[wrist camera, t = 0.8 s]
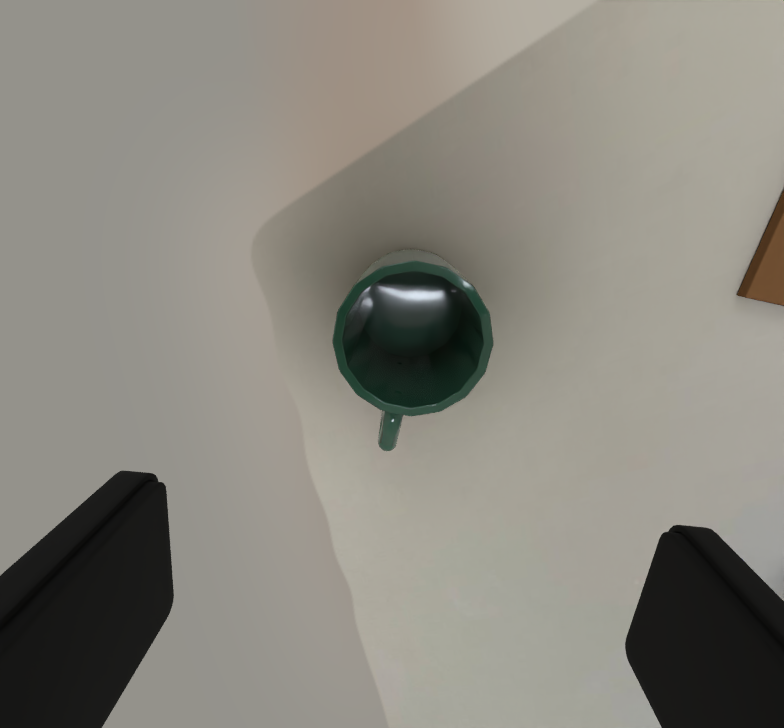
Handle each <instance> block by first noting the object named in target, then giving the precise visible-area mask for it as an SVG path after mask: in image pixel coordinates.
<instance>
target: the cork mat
mask: <svg viewBox="0 0 784 728" xmlns="http://www.w3.org/2000/svg"><path fill="white" fill-rule="evenodd" d="M737 295H738V296H742V297H746V298H751V299H755V300H760V301H765V302H769V303H774V304H778V305H783V306H784V191H783V193H782V195H781V198H780V200H779V202H778V204H777V207H776V209H775V211H774V213H773V215H772V218H771V220H770V222H769V224H768V227H767V229H766V231H765V233H764V236H763V238H762V240H761V242H760V245H759V247H758V249H757V251H756V254H755V256H754V258H753V260H752V263H751V265H750V267H749V269H748V272H747V274H746V276H745V278H744V280H743V283H742V285H741V287H740V289H739V292H738V294H737Z"/></svg>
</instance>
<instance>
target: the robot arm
mask: <svg viewBox="0 0 784 728" xmlns="http://www.w3.org/2000/svg"><path fill="white" fill-rule="evenodd" d="M173 596H174V594H173V580H172V565H171V551H170V537H169V522H168V509H167V494H166V486H165V485H164V483H162V482H158V479H157V477H156V475H154V474H152V473H143V472H142V473H141V472H132V471H120V472H118V473H117V474H115V475H114V476H113V477H112V478H111V479H109V480H108V481H107V482H106V483H105V484H104V485H103V486H102V487H101V488H99V489H98V490H97V491H96V492H95V493H94V494H92V495H91V496H90V497H89V498H88V499H87V500H86V501H85V502H83V503H82V504H81V505H80V506H79V507H78V508H77V509H76V510H74V511H73V512H72V513H71V514H70V515H69V516H67V518H65V519H64V520H63V521H62V522H61V523H60V524H58V525H57V526H56V527H55V528H54V529H53V530H52V531H50V532H49V533H48V534H47V535H46V536H45V537H44V538H43V539H41V540H40V541H39V542H38V543H37V544H36V545H35V546H33V547H32V548H31V549H30V550H29V551H28V552H27V553H25V554H24V555H23V556H22V557H21V558H20V559H19V560H18V561H16V563H14V564H13V565H12V566H11V567H10V568H8V569H7V570H6V571H5V572H4V573H3V574H2V575H1V576H0V728H102V726H103V725H104V723H105V721H106V720H107V718H108V716H109V715H110V713H111V711H112V710H113V708H114V706H115V705H116V703H117V701H118V699H119V698H120V696H121V694H122V692H123V691H124V689H125V688H126V686H127V684H128V683H129V681H130V679H131V677H132V676H133V674H134V673H135V671H136V669H137V668H138V666H139V664H140V662H141V661H142V659H143V658H144V656H145V654H146V653H147V651H148V649H149V648H150V646H151V644H152V643H153V641H154V639H155V637H156V636H157V634H158V632H159V631H160V629H161V627H162V626H163V624H164V622H165V621H166V619H167V617H168V615H169V613H170V610H171V607H172V603H173ZM625 648H626V654H627V658H628V661H629V663H630V665H631V667H632V669H633V671H634V673H635V675H636V677H637V679H638V681H639V683H640V685H641V687H642V689H643V691H644V693H645V695H646V697H647V699H648V701H649V703H650V705H651V707H652V709H653V711H654V713H655V715H656V717H657V719H658V721H659V723H660V725H661V727H662V728H784V601H783V600H782V599H781V598H780V597H779V596H778V595H777V594H776V593H775V592H774V591H773V590H772V589H771V588H770V587H769V586H768V585H767V584H766V583H765V582H764V581H763V580H762V579H761V578H760V577H759V576H758V575H757V574H756V573H755V572H754V571H753V570H752V569H751V568H750V567H749V566H748V565H747V564H746V563H745V562H744V561H743V560H742V559H741V558H740V557H739V556H738V555H737V554H736V553H735V552H734V551H733V550H732V549H731V548H730V547H729V546H728V545H727V544H726V543H725V542H724V541H723V540H722V539H721V538H720V537H719V535H718V534H717V533H715V532H714V531H713V530H711V529H709V528H704V527H693V526H683V525H675V526H673V527H672V528H670V530H669V532H665V533H663V534H662V535H661V537H660V539H659V542H658V545H657V548H656V551H655V554H654V557H653V560H652V563H651V566H650V569H649V572H648V575H647V578H646V581H645V584H644V587H643V590H642V593H641V596H640V599H639V602H638V605H637V608H636V611H635V614H634V617H633V620H632V623H631V626H630V629H629V632H628V635H627V638H626V642H625Z"/></svg>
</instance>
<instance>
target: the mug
mask: <svg viewBox="0 0 784 728" xmlns="http://www.w3.org/2000/svg"><path fill="white" fill-rule="evenodd" d="M333 347H334V351H335V355H336V359H337V363H338V368H339V370H340V372H341V374H342V375H343V376H344V378H345V379H346V381H347V382H348V383H349V385H350V386H351V387H352V389H353V390H354V392H355V393H356V394H357V395H358V396H360V397H361V398H363V399H364V400H366V401H368V402H369V403H371V404H372V405H374V406H375V407H377V408H379V409H380V410H382V414H381V422H380V430H379V439H378V444H379V447H380V448H381V449H382V450H384V451H391V450H393V449H394V448H395V446H396V444H397V439H398V435H399V431H400V427H401V422H402V418H403V415H407V416H417V415H423V414H429V413H435V412H440V411H442V410H444V409H446V408H447V407H449V406H451V405H453V404H454V403H456V402H458V401H460V400H461V399H463V398H465V397H466V396H467V395H468V394H469V393H470V391H471V390H472V389H473V388H474V386H475V385H476V384H477V383H478V381H479V380H480V379H481V378H482V376H483V375H484V374H485V372H486V368H487V365H488V361H489V358H490V354H491V351H492V347H493V335H492V327H491V319H490V314H489V311H488V309H487V308H486V306H485V304H484V303H483V301H482V299H481V298H480V296H479V294H478V293H477V291H476V289H475V288H474V286H473V285H472V284H471V283H470V282H469V281H468V280H467V279H466V278H465V277H464V276H462V275H461V274H460V273H459V272H458V271H457V270H456V269H455V268H454V267H453V266H452V265H450V264H449V263H448V262H446V261H445V260H444V259H442V258H441V257H439V256H438V255H436V254H434V253H430V252H427V251H423V250H417V249H406V250H399V251H395V252H391V253H388V254H386V255H385V256H383V257H382V258H380V259H378V260H377V261H376V262H375V263H373V264H372V265H370V266H369V267H368V268H367V270H366V271H365V272H364V273H363V275H362V276H361V277H360V278H359V280H358V281H357V282H356V284H355V285H354V286H353V288H352V289H351V291H350V292H349V294H348V296H347V297H346V299H345V300H344V302H343V303H342V305H341V306H340V308H339V309H338V312H337V316H336V322H335V328H334V334H333Z"/></svg>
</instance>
